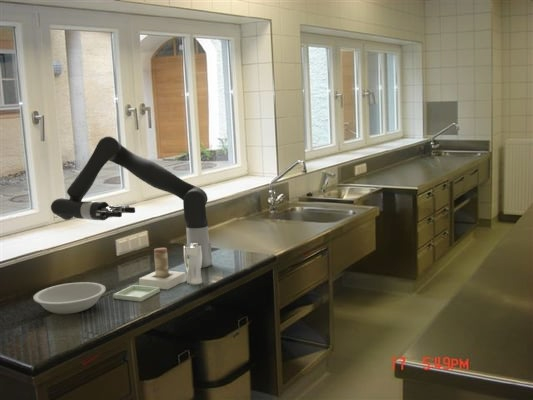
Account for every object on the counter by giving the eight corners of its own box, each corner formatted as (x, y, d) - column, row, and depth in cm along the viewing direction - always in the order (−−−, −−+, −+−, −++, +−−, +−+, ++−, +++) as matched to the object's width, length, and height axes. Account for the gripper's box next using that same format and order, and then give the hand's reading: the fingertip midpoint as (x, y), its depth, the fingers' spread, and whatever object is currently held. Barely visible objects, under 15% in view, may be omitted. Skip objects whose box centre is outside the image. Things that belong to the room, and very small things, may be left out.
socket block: (158, 278, 253) (158, 269, 253) (186, 280, 248) (185, 272, 247) (139, 287, 242) (138, 278, 241) (168, 290, 236) (167, 281, 236)
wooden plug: (165, 281, 248) (163, 247, 246) (171, 284, 244) (169, 249, 242) (154, 284, 245) (151, 249, 243) (159, 286, 241) (157, 251, 239)
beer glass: (189, 286, 240) (186, 248, 238) (183, 282, 246) (180, 244, 244) (206, 283, 243) (203, 245, 241) (199, 279, 249) (197, 242, 247)
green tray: (133, 289, 239) (133, 284, 239) (160, 292, 234) (159, 287, 234) (113, 299, 228) (113, 294, 228) (140, 302, 223) (140, 297, 223)
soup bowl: (37, 327, 203) (35, 308, 202) (33, 306, 225) (31, 288, 223) (112, 314, 212) (111, 295, 211) (101, 295, 234) (99, 278, 233)
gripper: (82, 204, 246) (115, 205, 239) (105, 198, 259) (138, 199, 252) (84, 223, 247) (117, 225, 240) (107, 216, 260) (139, 218, 253)
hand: (127, 212), depth 246 cm, fingers open, 8 cm apart
